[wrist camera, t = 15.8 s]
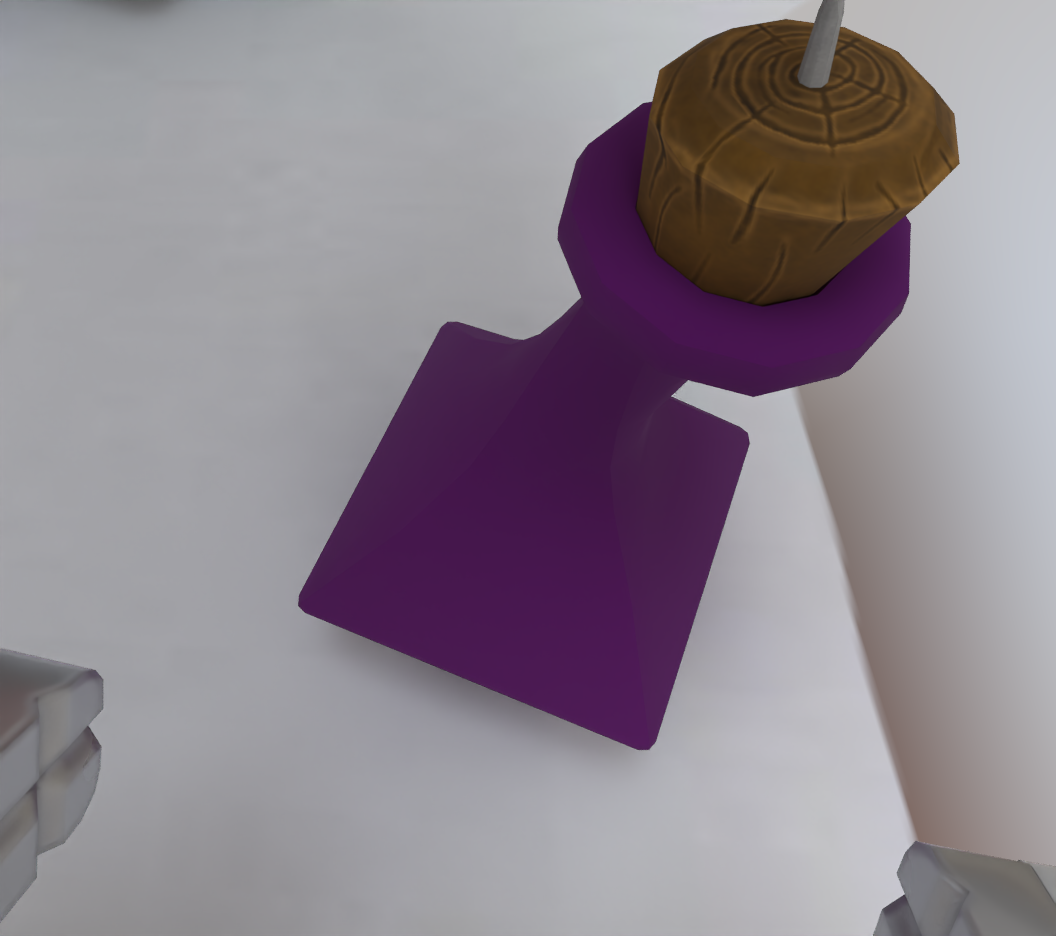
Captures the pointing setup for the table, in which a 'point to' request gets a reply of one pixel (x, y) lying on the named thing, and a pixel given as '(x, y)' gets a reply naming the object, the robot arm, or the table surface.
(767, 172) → the purple potion bottle
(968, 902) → the robot arm
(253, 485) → the table surface
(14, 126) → the table surface
